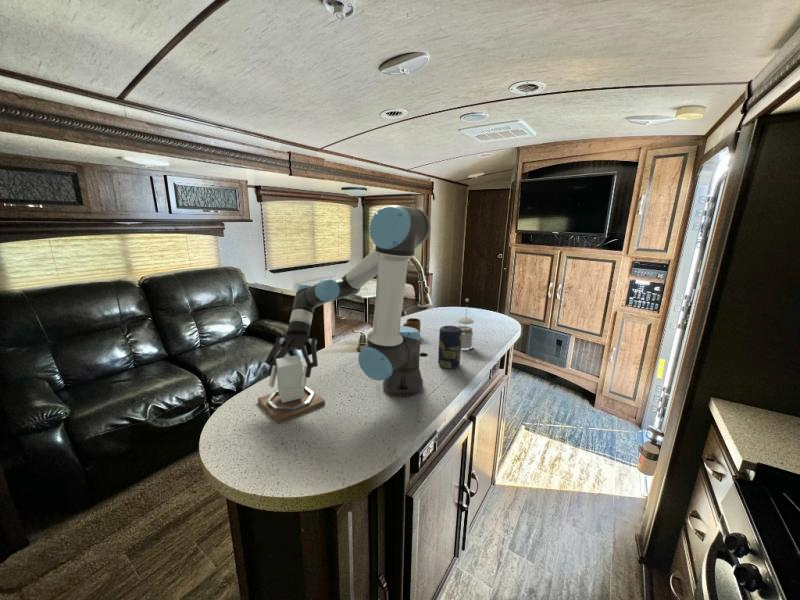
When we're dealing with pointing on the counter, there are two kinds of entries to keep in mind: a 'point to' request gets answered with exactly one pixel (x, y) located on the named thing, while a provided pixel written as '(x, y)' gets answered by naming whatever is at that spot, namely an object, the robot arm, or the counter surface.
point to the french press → (466, 331)
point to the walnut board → (286, 415)
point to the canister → (449, 346)
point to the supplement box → (289, 378)
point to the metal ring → (278, 408)
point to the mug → (413, 323)
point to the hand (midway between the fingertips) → (286, 386)
